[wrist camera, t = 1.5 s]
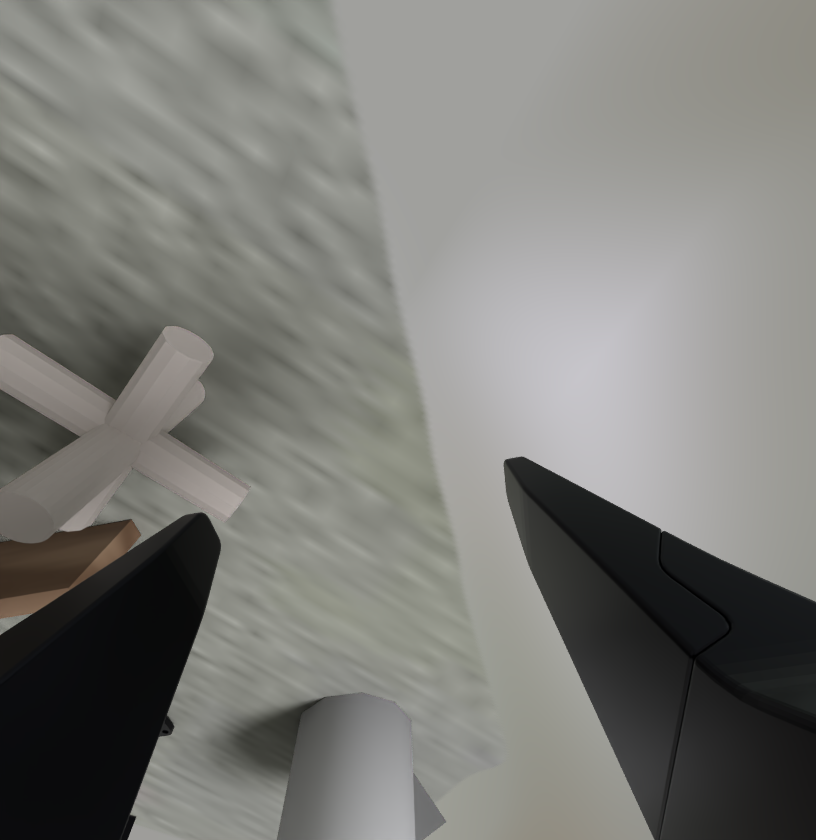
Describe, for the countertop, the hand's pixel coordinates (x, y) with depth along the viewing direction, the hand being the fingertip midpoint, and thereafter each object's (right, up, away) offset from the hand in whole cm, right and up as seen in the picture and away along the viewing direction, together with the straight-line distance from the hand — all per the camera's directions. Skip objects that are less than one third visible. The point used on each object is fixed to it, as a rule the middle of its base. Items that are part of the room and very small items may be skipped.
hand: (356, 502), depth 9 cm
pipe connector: (-10, +3, +12) cm, 16 cm away
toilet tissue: (-2, -25, +25) cm, 35 cm away
